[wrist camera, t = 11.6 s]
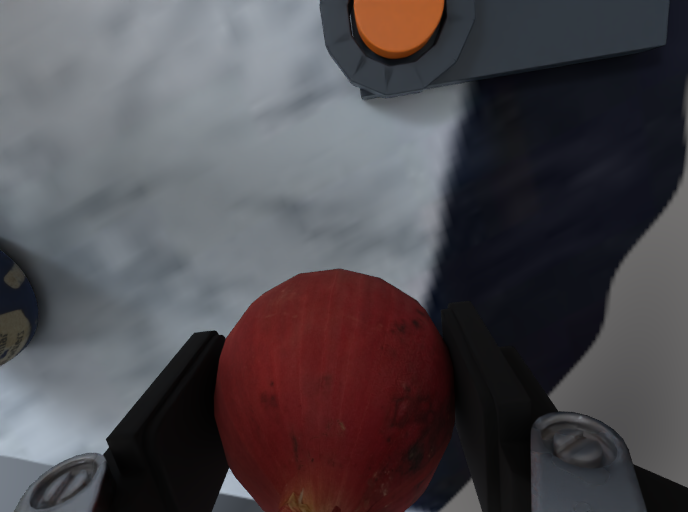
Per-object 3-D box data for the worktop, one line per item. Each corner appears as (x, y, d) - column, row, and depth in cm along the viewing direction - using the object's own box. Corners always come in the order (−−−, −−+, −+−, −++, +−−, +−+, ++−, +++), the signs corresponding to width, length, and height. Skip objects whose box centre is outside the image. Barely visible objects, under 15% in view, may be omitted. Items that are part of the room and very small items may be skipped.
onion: (422, 226, 12) (520, 387, 5) (433, 380, 14) (518, 681, 6) (243, 247, 13) (66, 424, 5) (276, 393, 14) (181, 687, 7)
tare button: (361, 65, 18) (360, 59, 16) (349, -26, 17) (347, -42, 15) (441, 51, 17) (448, 43, 16) (434, -44, 16) (441, -62, 15)
